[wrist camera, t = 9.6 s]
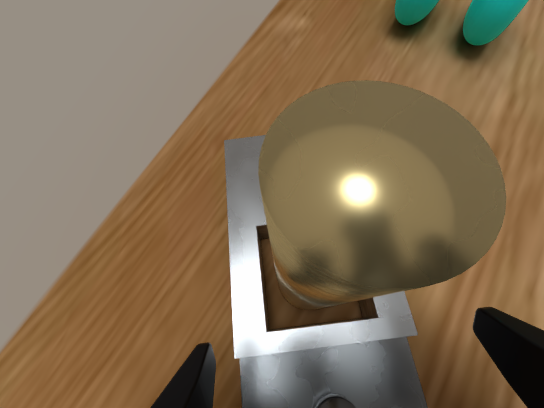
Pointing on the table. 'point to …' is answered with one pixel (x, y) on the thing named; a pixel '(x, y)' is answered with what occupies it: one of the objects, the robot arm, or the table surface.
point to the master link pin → (375, 193)
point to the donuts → (467, 16)
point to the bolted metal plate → (308, 338)
